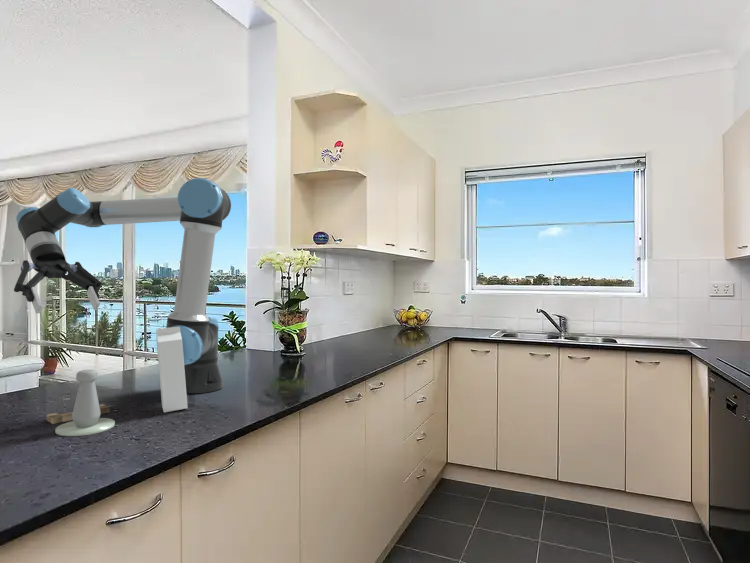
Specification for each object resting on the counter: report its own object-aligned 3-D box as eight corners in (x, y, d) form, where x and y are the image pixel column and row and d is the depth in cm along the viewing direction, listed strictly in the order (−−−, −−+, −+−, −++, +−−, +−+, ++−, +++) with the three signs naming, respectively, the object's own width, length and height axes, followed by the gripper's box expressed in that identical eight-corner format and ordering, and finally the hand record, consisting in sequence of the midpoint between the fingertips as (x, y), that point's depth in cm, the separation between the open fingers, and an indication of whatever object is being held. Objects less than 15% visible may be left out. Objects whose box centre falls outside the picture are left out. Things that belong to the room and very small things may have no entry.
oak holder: (46, 420, 116) (46, 414, 116) (102, 409, 127) (102, 404, 127) (53, 424, 114) (53, 417, 114) (109, 412, 124) (109, 406, 124)
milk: (187, 408, 128) (181, 327, 126) (163, 413, 125) (156, 330, 124) (185, 402, 133) (179, 325, 132) (161, 407, 130) (155, 327, 129)
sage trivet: (122, 419, 118) (122, 417, 118) (102, 435, 106) (102, 432, 106) (70, 420, 117) (70, 418, 117) (44, 437, 105) (44, 434, 105)
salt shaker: (70, 430, 108) (70, 373, 108) (72, 423, 113) (73, 369, 113) (99, 427, 110) (100, 371, 110) (101, 420, 116) (101, 367, 115)
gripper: (89, 262, 143) (113, 314, 135) (-14, 260, 123) (7, 321, 114) (97, 244, 140) (123, 296, 132) (-7, 239, 120) (16, 300, 111)
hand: (69, 308), depth 123 cm, fingers open, 13 cm apart
